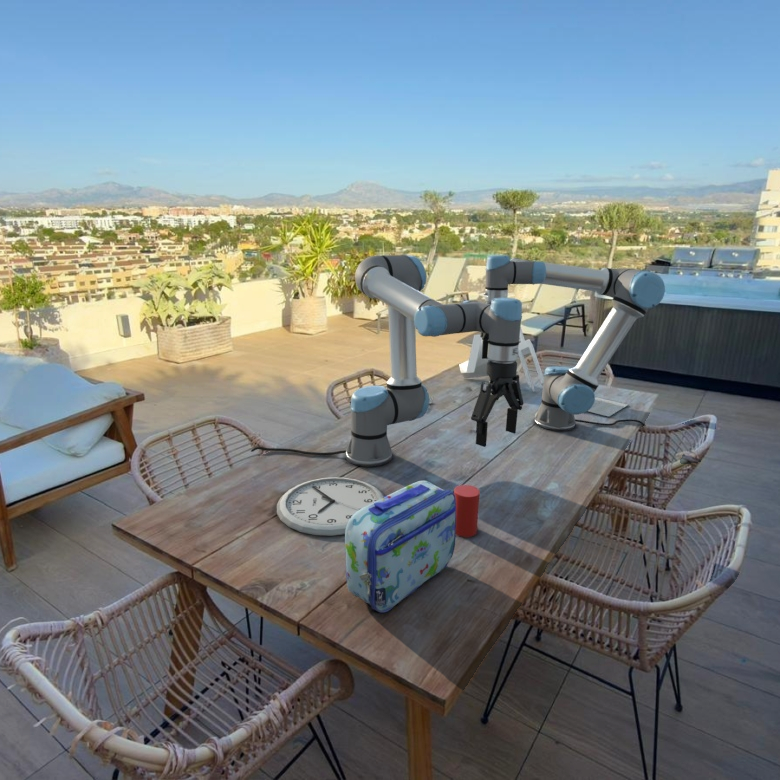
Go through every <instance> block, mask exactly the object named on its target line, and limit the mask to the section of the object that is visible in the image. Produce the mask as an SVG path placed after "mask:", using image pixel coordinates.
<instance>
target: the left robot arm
mask: <svg viewBox="0 0 780 780" xmlns="http://www.w3.org/2000/svg"><path fill="white" fill-rule="evenodd" d="M354 281H355V285H356V287H357V288H358V290H359V291H360V292H361V293H362V294H364V296H366V297H368V298H369V299H374V300H375V299H378V300H379V301H381V302H382V303H384V304H385V305H387V312H388V313H387V314H388V315H387V316H388V339H389V361H390V362H389V363H390V364H389V365H390V378H388V380H387V381H386V387H385V386H382V385H377V384H376V385H367V386H362V387H360V388H358V389H356V390H355V391H354V392H353V393H352V394H351V398H350V426H351V427H350V431H351V432H350V438H349V441H348V444H347V447H346V449H344V450H338V451H331V452H328V451H327V452H314V451H305V450H300V449H295V448H281V447H280V448H279V447H264V446H256V447H252V449H250V452H251V453H252V452H255V451H257V450H262V451H266V452H292V453H298V454H303V455H310V456H311V455H312V456H335V455H340V454H345V459H346V461H347V462H348V463H349V464H352V465H354V466H358V467H364V468H365V467H366V468H372V467H373V468H375V467H381V466H384V465H386V464H388V463H389V462H391V461H392V459H393V450H392V447H391V444H390V441H389V438H388V426H390V425H395V424H401V423H404V422H412V421H415V420H417V419H421V418H422V417H424V416H425V415H426V414H427V412H428V409H429V408H430V407H429V406H430V404H429V399H430V393H429V392H428V389H427V387H426V386H425V385H424V384H423V383H422V380H421V378H420V377H418V375H417V374H418V373H417V371H418V370H417V341H416V330H417V333H418V334H419V335H420V336H422V337H433V338H434V337H436V338H437V337H439V336H447V335H455V334H465V333H472V332H478V333H481V332H483V334H484V333H487V334H489V342H488V354H487V358H488V359H489V360H488V361H487V371H486V373H487V375H489V376H488V377H489V380H488V382H485V381H482V382H481V384H480V388H479V389H480V390H479V394H478V396H477V398H476V401H475V405H474V407H473V411H472V412H471V413H472V414H471V416H470V420H471V421H474V422H476V426H475V445H478V446H480V447H483V448H485V447H487V441H488V440H487V439H488V426H489V422H488V421H487V420H488V419H489V416H490V413H491V411H492V409H493V407H494V406H495V403H496V402H497V401H499V400H500V398H502V397H504V398H505V400H506V403H507V404H508V406H509V407H508V408H507V409H506V421H505V432H508V433H511V434H516V433H517V420H518V411H522V410H523V406H524V398H523V394H522V389H521V385H520V375H519V374H517V373H518V362H517V361H518V360H519V359H518V353H519V351H518V346H519V343H520V338H519V336H520V327H521V325H522V320H523V303H522V301H521V300H520V299H518V298H513V297H511V298H510V297H507V298H494V299H493V300H492V302H491V304H487V303H485V302H481V301H478V300H464V301H462V302H461V303H449V304H448V303H447V304H444V303H441V302H439V301H437V300H435V299H433V298H432V297H430V296H428V295H427V294H425V293H422V291H423V290H424V289H425V286H426V284H427V273H426V268H425V266H424V264H423V262H422V261H421V260H420V259H419V258H418V257H417V256H414V255H410V254H409V255H408V254H391V255H390V254H389V255H386V254H385V255H378V254H377V255H371V256H367V258H364V259H363V260H361V262H360V263H359V264H358V266H357V268H356V270H355V273H354ZM521 328H522V327H521ZM517 359H518V360H517Z"/></svg>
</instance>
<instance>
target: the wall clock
mask: <svg viewBox="0 0 780 780" xmlns="http://www.w3.org/2000/svg"><path fill="white" fill-rule="evenodd" d="M384 497H386V495H385V494H384V493H383V492H382V491H381V490H380V489H379V488H377V487H376V486H374V485H372V484H371V483H369V482H365V481H362V480H359V479H355V478H349V477H338V476H337V477H335V476H333V477H332V476H331V477H322V478H317V479H312V480H307V481H305V482H302V483H299V484H297V485H295V486H293V487H292V488H290V489H288V490H287V491H286V492H285V493H284V494H283V495H281V496H280V498H279V499H278V502H277V503H276V515H277V517H278V518H279V520H280V521H281V522H282V523H283V524H285V525H286V526H287V527H288V528H290V529H293V530H295V531H297V532H299V533H303V534H308V535H312V536H327V537H328V536H329V537H331V536H332V537H333V536H342V535H345V531H346V527H347V524H348V522H349V520H350V518H351V517H352V515H353V514H354V513H355V512H357V511H358V510H360V509H362V508H364V507H366V506H368V505H370V504H372V503H374V502H376V501H378V500H380V499H382V498H384Z"/></svg>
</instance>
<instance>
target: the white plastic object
mask: <svg viewBox="0 0 780 780" xmlns="http://www.w3.org/2000/svg"><path fill="white" fill-rule="evenodd" d="M480 335H481V334H473V339H472V342H471V343H472V344H471V348H470V353H469V357H468V360H466V361H464V362H462V363H460V364H458V366H459V370H460V374H461V375H462V377H463V378H464V379H473V378H474V379H475V378H482V377H483V378H484V377H489V375H487V373H486V371H487V361H488V360H489V359H482V344H483V340H482V337H480ZM518 351H519V353H518V359H517V360H516V361H518V360H520V363H521V366H522V367H521V368H522V369H523V373H524V376H525V380H526V382H527V385H528V387H529V388H530V389H531V391H532V392H533V393H535V386H534V383H533V380H532V376H531V374H530V371H529V368H528V364H527V361H526V358H525V356H526V355H531V358H532V360H533V364H534V367H535V370H536V373H537V376H538V379H539V382H540V384H541V386H542V387H543V382H544V373H543V371H542V369H541V365H540V362H539V359H538V356H537V353H536V350H535V348H534V343H532V341H531V339H530V338H528V339H525V336H524V333H523V330H522V327H520V336H519V346H518Z"/></svg>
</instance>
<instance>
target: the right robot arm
mask: <svg viewBox="0 0 780 780" xmlns="http://www.w3.org/2000/svg"><path fill="white" fill-rule="evenodd" d="M509 285H533V286H534V285H546V286H547V285H548V286H554V287H555V286H556V287H561V288H567V289H569V288H570V289H576V290H583V291H590V292H595V293H596V294H597V295H599V296H605V297H610V298H612V299H611V303H612V308H611V310H610V311H609V313H608V314H607V315H606V317H605V319H604V321H603V322H602V324H601V326H600V327H599V328H598V330H597V332H596V333H595V335H594V337H593V338H592V340H591V341H590V342H589V344H588V346H587V348H586V350H584V352H583V354H582V356H581V357H580V359H579V360H578V362H577V363H576V365H575V366H574V367H570V366H548V367H546V368H545V370H544V373H543V377H544V382H543V386H542V394H541V402H540V405H539V407H538V410H537V411H536V412H535V414H534V424H535V425H536V426H537V427H539V428H542V429H544V430H549V431H556V432H567V431H572V430H574V429H575V428H576V422H577V423H585V424H590V425H597V426H606V427H610V426H615V425H617V423H623V422H625V423H626V422H635V423H639V424H640V425H642V426H643V427H646V423H644V422H643V421H641V420H639V419H633V418H629V419H628V418H626V419H617V420H615V421H614V422H612V423H605V422H604V423H603V422H594V421H588V420H584V419H583V420H582V419H576V418H575V417H576V416H577V415H582V414H586V412H587V413H588V410H589V409H590V408H591V407H592V406H593V404H594V401H595V397H596V396H595V395H596V394H595V392H596V391H597V389H598V388H599V386H600V384H599V381H598V380H599V378H600V376H601V375H602V373H603V371H604V369H606V367H607V365H608V363H609V362H610V361H611V359H612V357H613V356H614V354H615V353H616V352H617V350H618V348H619V346H620V345H621V344H622V342H623V341H624V339H625V337H626V336H627V334H628V333H629V331H630V330H631V328H632V327H633V325H634V323H635V322H636V320H637V319H641V318H643V317H644V316H645V315H646V314H647V312H648V311H649V309H651V308H654V307H656V306H658V305H659V304H660V303H661V302H662V300H663V299H664V297H665V293H666V286H665V282H664V280H663V278H662V277H661V276H660V275H658V274H657V273H655V272H653V271H650V270H643V269H636V268H612V267H611V268H610V267H603V268H601V269H596V268H589V267H580V266H575V265H574V266H573V265H566V264H560V263H559V264H558V263H551V262H544V261H541V260H530V259H521V258H518V257H514V258H511V257H510V255H508V254H491V255H488V256H487V258H486V265H485V285H484V292H483V296H484V301H485V302H484V303H487V304H491V302H492V300H493V299H494V298H509V297H508V296H509ZM479 335H480V337H482V340H483V344H482V359H488V358H487V354H488V342H489V334H487V333H483V332H480V334H479Z"/></svg>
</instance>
